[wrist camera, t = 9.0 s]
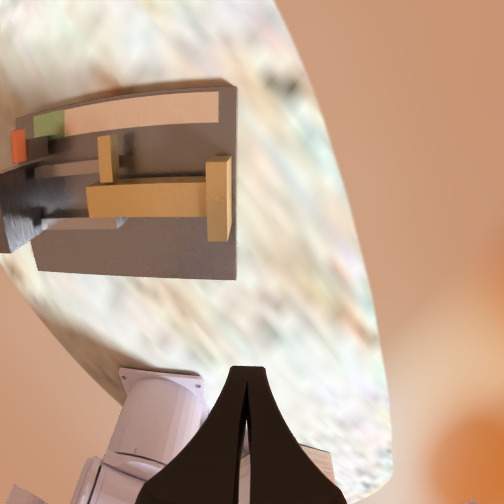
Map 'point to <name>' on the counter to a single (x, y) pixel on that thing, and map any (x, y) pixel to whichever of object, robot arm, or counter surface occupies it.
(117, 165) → the wooden u-shaped cradle
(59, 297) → the counter surface
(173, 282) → the counter surface
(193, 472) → the robot arm
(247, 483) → the supplement box
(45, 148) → the orange and grey block
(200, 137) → the gauge base
